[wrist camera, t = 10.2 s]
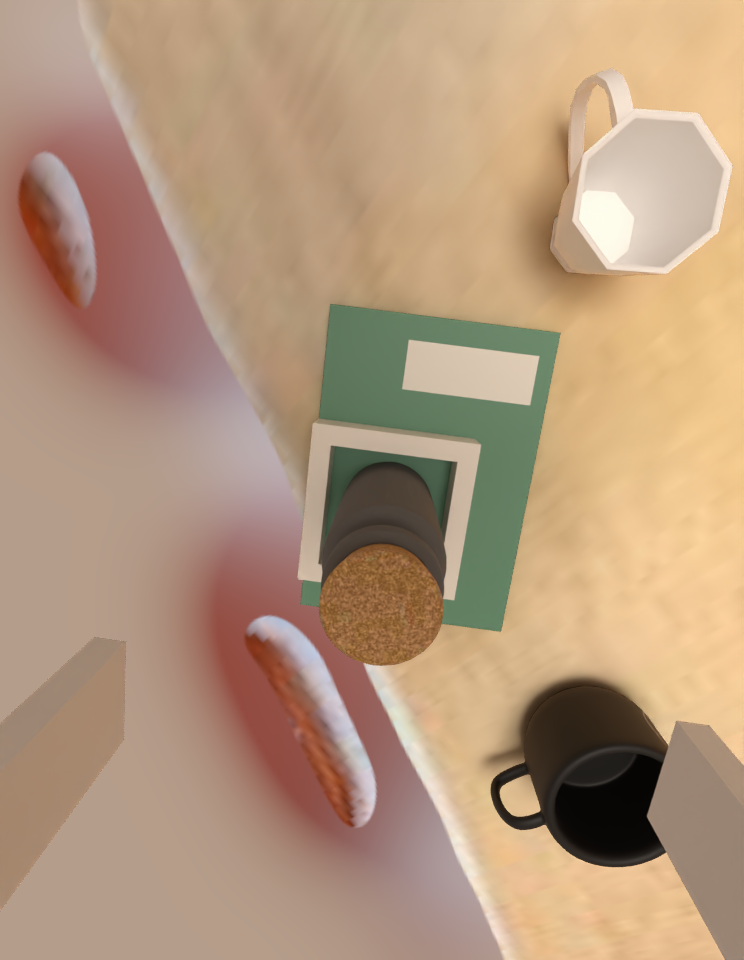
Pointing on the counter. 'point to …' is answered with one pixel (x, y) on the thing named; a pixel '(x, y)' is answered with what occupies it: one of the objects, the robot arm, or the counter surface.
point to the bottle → (383, 567)
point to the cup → (637, 187)
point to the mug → (591, 776)
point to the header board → (433, 439)
